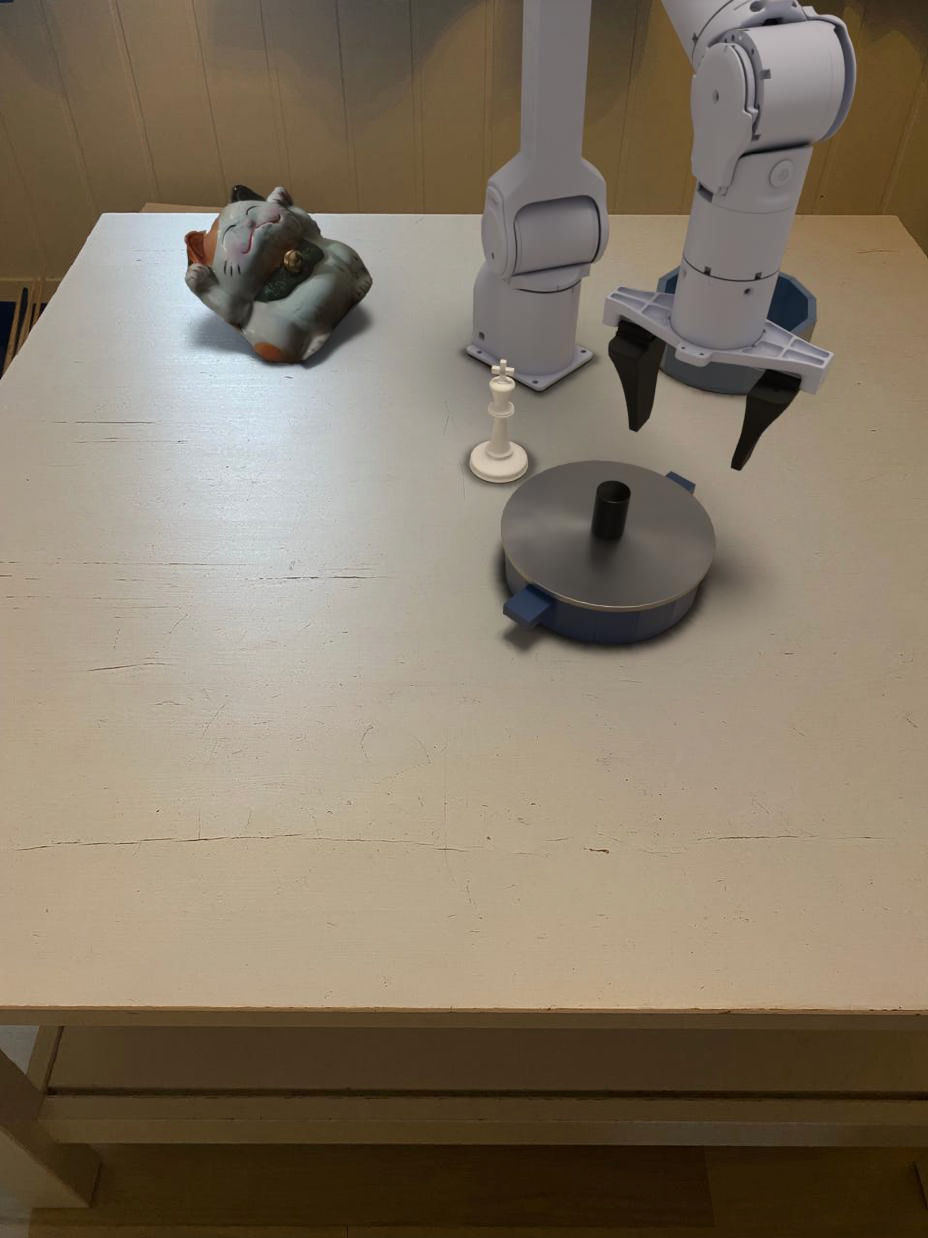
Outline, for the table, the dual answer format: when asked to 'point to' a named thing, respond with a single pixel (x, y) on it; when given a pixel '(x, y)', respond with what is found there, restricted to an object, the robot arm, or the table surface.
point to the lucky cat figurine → (274, 274)
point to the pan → (587, 623)
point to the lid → (608, 536)
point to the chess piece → (499, 435)
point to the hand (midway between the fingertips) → (688, 442)
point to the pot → (786, 310)
